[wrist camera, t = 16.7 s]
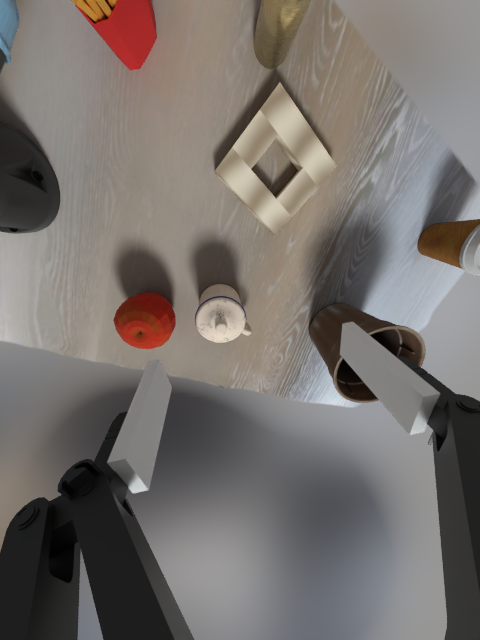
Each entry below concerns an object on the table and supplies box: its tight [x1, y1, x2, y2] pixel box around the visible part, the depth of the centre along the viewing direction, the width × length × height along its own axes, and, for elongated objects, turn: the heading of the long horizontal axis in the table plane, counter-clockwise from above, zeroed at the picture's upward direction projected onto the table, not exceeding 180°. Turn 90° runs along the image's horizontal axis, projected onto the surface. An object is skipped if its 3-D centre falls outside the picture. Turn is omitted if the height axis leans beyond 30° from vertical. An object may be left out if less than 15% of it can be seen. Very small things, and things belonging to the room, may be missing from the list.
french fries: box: [71, 0, 157, 70], centre depth 23 cm, size 8×4×12 cm, turn 138°
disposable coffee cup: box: [418, 219, 480, 275], centre depth 39 cm, size 10×10×12 cm
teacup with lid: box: [195, 284, 252, 343], centre depth 41 cm, size 12×9×12 cm
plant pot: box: [309, 303, 426, 403], centre depth 44 cm, size 16×16×16 cm
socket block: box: [215, 83, 337, 235], centre depth 35 cm, size 14×14×2 cm
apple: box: [114, 293, 175, 349], centre depth 40 cm, size 10×10×12 cm
